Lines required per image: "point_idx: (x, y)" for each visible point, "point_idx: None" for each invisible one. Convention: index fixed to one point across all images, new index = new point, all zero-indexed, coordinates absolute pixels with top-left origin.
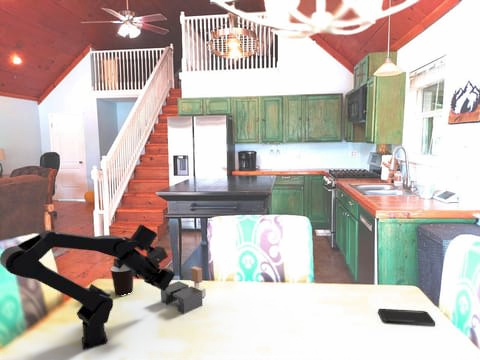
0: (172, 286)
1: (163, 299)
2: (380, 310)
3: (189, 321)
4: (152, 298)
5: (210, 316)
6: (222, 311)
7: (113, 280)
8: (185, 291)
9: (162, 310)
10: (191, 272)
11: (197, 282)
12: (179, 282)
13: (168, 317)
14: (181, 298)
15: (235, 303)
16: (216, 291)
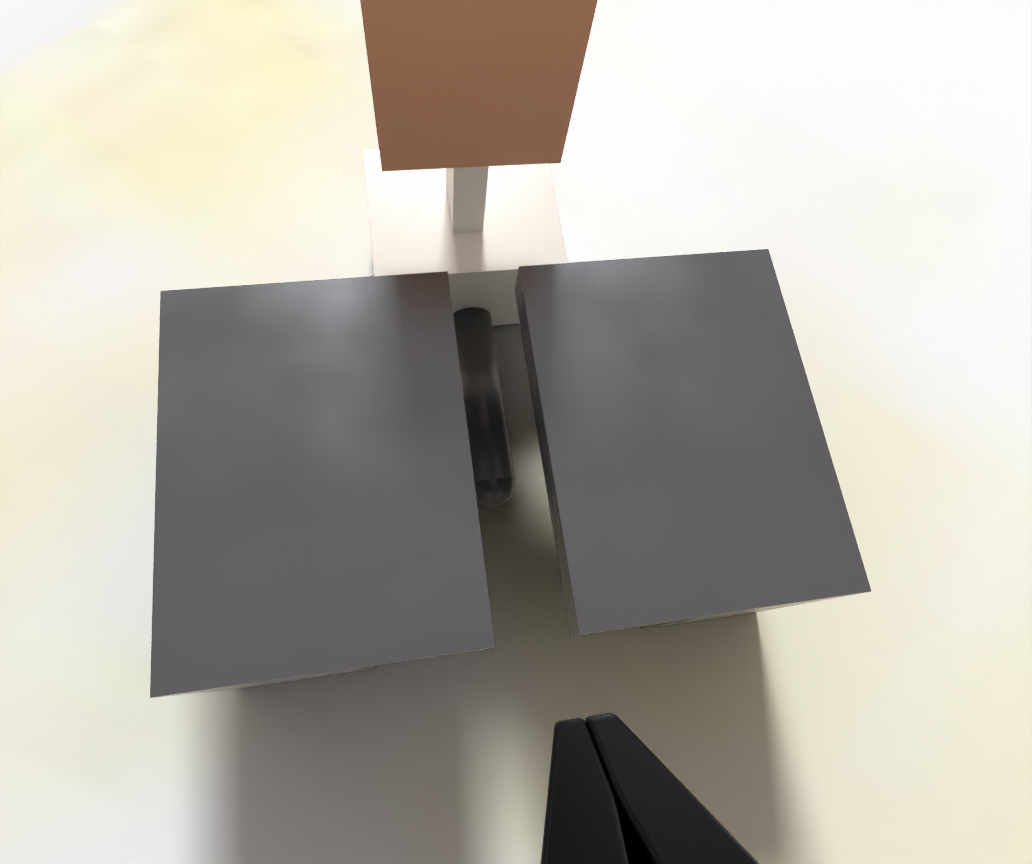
0: (285, 486)
1: (290, 680)
2: None
3: (953, 655)
4: (12, 744)
5: (959, 424)
6: (922, 285)
7: None
8: (640, 429)
9: (493, 798)
10: (390, 41)
11: (550, 154)
12: (227, 312)
13: (728, 822)
14: (809, 599)
15: (840, 119)
16: None
